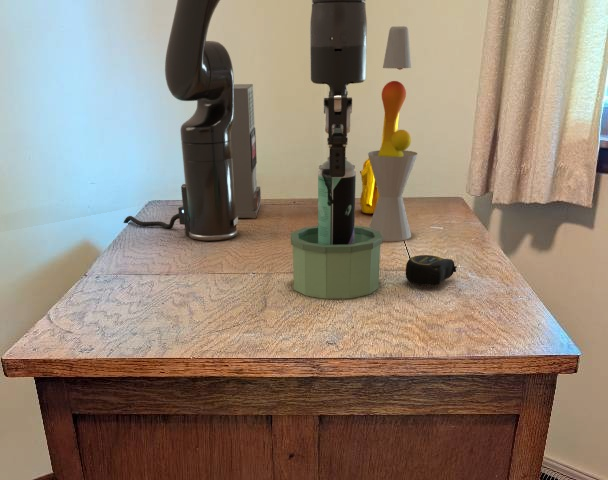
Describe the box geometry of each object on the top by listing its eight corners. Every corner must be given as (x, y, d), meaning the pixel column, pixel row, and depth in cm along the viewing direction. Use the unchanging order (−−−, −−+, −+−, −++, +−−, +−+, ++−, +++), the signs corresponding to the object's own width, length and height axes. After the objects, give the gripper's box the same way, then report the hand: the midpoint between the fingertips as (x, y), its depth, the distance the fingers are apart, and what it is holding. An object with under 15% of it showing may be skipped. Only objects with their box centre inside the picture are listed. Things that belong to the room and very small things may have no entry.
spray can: (350, 291, 110) (353, 151, 100) (315, 289, 111) (314, 150, 100) (355, 281, 114) (358, 145, 104) (321, 279, 115) (321, 145, 105)
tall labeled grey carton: (257, 219, 153) (251, 88, 141) (228, 219, 154) (220, 88, 141) (261, 205, 165) (256, 84, 153) (235, 205, 165) (228, 84, 153)
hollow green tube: (275, 291, 110) (273, 240, 106) (317, 268, 121) (317, 221, 117) (356, 304, 104) (358, 251, 100) (393, 279, 115) (395, 230, 111)
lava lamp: (359, 239, 137) (365, 26, 119) (373, 228, 144) (381, 26, 127) (405, 243, 134) (418, 26, 117) (417, 232, 142) (431, 26, 124)
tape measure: (437, 292, 109) (439, 268, 107) (397, 285, 112) (398, 261, 110) (455, 281, 114) (457, 257, 112) (416, 274, 117) (417, 251, 115)
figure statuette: (359, 204, 166) (362, 98, 154) (393, 204, 165) (399, 97, 154) (357, 221, 150) (360, 105, 139) (395, 221, 150) (401, 105, 139)
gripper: (312, 43, 102) (313, 164, 110) (308, 44, 90) (309, 180, 98) (365, 42, 102) (362, 163, 110) (368, 43, 89) (364, 180, 98)
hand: (337, 171), depth 104 cm, fingers open, 8 cm apart
